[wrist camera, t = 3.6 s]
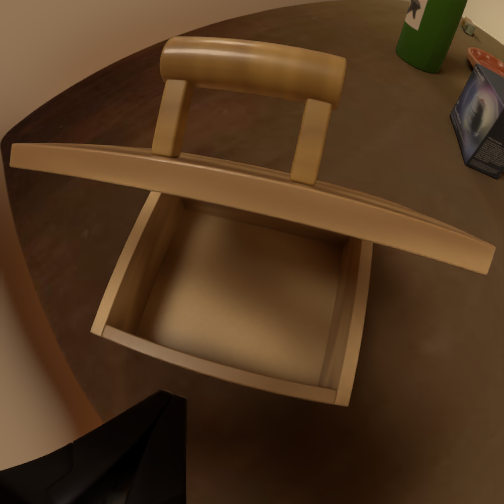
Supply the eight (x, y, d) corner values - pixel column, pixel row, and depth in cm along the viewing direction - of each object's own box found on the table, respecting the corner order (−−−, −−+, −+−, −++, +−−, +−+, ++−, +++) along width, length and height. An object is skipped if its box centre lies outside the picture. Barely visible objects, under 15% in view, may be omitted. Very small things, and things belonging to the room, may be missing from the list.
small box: (446, 113, 34) (474, 59, 25) (479, 129, 34) (509, 79, 24) (462, 165, 30) (503, 104, 20) (498, 181, 29) (540, 128, 20)
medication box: (471, 36, 58) (475, 28, 55) (464, 31, 59) (469, 23, 55) (467, 27, 63) (471, 20, 59) (460, 23, 63) (464, 15, 59)
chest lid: (487, 276, 6) (520, 109, 5) (9, 167, 7) (36, 37, 6) (375, 208, 19) (391, 141, 18) (165, 161, 20) (178, 98, 19)
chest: (322, 403, 19) (348, 406, 14) (125, 347, 20) (89, 331, 15) (350, 245, 24) (375, 206, 19) (180, 205, 26) (167, 160, 21)
